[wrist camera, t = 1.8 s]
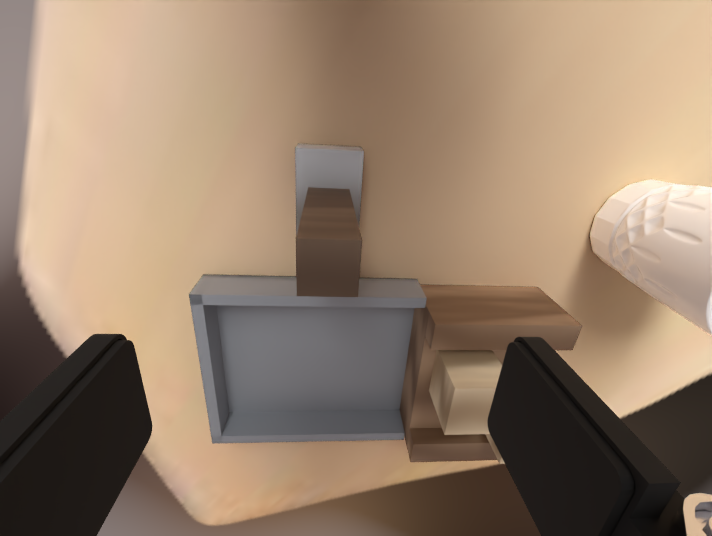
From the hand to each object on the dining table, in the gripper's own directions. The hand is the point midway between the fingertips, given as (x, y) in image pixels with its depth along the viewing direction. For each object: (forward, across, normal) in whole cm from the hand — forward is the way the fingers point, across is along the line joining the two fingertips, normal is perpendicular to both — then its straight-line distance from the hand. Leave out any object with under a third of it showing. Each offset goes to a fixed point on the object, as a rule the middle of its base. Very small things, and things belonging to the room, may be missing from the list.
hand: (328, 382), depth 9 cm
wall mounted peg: (+17, 0, -1) cm, 17 cm away
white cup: (+17, -23, 0) cm, 29 cm away
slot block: (+17, -12, +12) cm, 24 cm away
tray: (+17, +1, +12) cm, 21 cm away
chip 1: (+13, -10, +11) cm, 20 cm away
